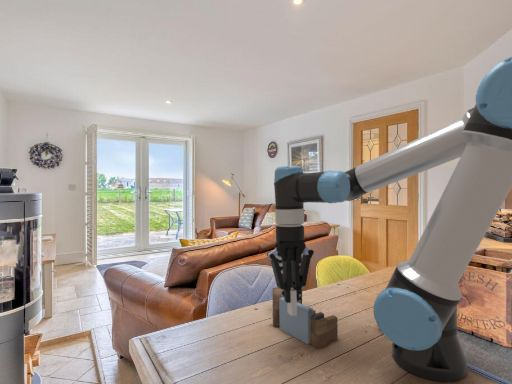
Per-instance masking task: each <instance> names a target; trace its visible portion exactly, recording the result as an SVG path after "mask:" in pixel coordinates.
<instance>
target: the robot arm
mask: <svg viewBox="0 0 512 384" xmlns="http://www.w3.org/2000/svg"><path fill="white" fill-rule="evenodd" d="M456 159H459V160H458V162H457V163H456V166H455V168H454V170H453V172H452V174H451V176H450V178H449V180H448V181H447V184H446V186H445V188H444V190H443V192H442V194H441V196H440V198H439V200H438V202H437V204H436V205H435V208H434V210H433V212H432V214H431V215H430V218H429V220H428V221H427V222H428V223H427V224H426V226H425V228H424V230H423V232H422V234H421V236H420V238H419V239H418V242H417V244H416V245H415V248H414V250H413V252H412V254H411V256H410V258H409V259H407V260H402V261H400V262H398V263H397V265H396V267H395V269H394V271H393V273H392V274H391V277H390V279H389V281H388V283H387V285H386V287H385V288H384V289H383V290H382V291H380V293H378V294H377V296H376V298H375V300H374V304H373V309H372V310H373V312H372V313H373V318H374V320H375V322H376V324H377V327H378V329H379V330H380V331H381V333H382V334H383V335H384V337H386V339H388V340H389V341H390V342H392V346H391V351H392V352H391V355H392V358H393V360H394V361H395V363H396V364H397V365H398V366H400V367H401V368H403V369H404V370H405V371H407V372H410V374H413V375H415V376H417V377H421V378H423V379H426V380H427V379H428V380H432V381H436V382H446V383H447V382H456V381H460V380H462V379H464V378H465V377H466V376H467V373H468V372H467V370H468V367H467V366H468V365H467V359H466V356H465V353H464V350H463V348H462V344H461V342H460V339H459V337H458V304H459V303H460V301H461V299H462V297H463V295H462V292H461V289H460V287H459V285H458V284H459V281H460V280H461V278H462V276H463V274H464V273H465V271H466V269H467V267H468V265H470V262H471V260H472V258H473V257H474V255H475V253H476V252H477V250H478V248H479V246H480V244H481V243H482V241H483V240H484V238H485V236H486V234H487V233H488V232H487V231H488V230H489V228H490V227H491V225H492V223H493V222H494V220H495V217H496V216H497V214H498V213H499V211H500V210H501V207H502V205H503V203H505V202H504V201H505V200H506V199H507V197H508V194H509V193H510V191H511V190H512V56H510V57H508V58H506V59H504V60H501V61H500V62H499V63H498V64H496V65H494V66H493V67H492V68H491V69H489V71H488V72H486V74H485V75H484V77H483V78H482V79H481V81H480V83H479V86H478V88H477V90H476V95H475V105H474V106H473V107H472V108H470V109H467V110H466V111H465V113H464V114H463V117H461V118H459V119H458V120H454V121H453V122H451V123H449V124H447V125H444V126H442V127H440V128H438V129H436V130H434V131H431V132H429V133H427V134H425V135H422V136H421V137H419V138H416V139H414V140H412V141H410V142H408V143H405V144H402V145H401V146H399V147H396V148H395V149H392V150H390V151H388V152H385V153H384V154H381V155H379V156H377V157H375V158H372V159H370V160H368V161H366V162H364V163H361V164H359V165H357V166H356V167H354V168H351V169H349V170H347V171H344V170H343V171H342V170H326V171H318V172H317V171H316V172H303V167H302V166H299V165H289V166H278V167H276V168H275V170H274V179H273V180H274V182H273V185H274V186H273V187H274V199H275V200H274V201H275V205H274V212H275V213H274V214H275V215H274V216H275V224H276V227H275V240H276V241H275V244H274V249H273V250H271V251H270V252H269V251H268V252H267V253H266V256H267V258H268V260H269V261H270V263H271V268H272V272H273V276H274V279H275V283H276V286H278V287H279V288H280V289H282V290H284V300H285V302H287V311H288V313H289V314H290V315H291V316H297V301H299V291H300V290H301V287H302V288H303V287H305V286H307V281H308V276H309V269H310V263H311V259H312V257H313V255H314V254H315V252H314V250H313V249H312V248H308V247H307V244H306V243H305V226H304V225H303V224H305V212H304V207H305V205H304V203H323V204H324V203H327V204H337V203H343V202H350V201H351V202H352V201H354V200H357V199H360V198H361V197H362V196H363V195H366V194H369V193H371V192H373V191H376V190H378V189H381V188H383V187H386V186H389V185H392V184H394V183H396V182H400V181H402V180H405V179H407V178H409V177H412V176H415V175H417V174H420V173H423V172H425V171H428V170H431V169H434V168H435V167H438V166H441V165H443V164H446V163H449V162H451V161H454V160H456ZM277 253H278V254H279V256H280V257H281V258H282V264H283V278H282V274H281V270H280V266H279V262H278V260H277V258H278V255H277ZM301 255H302V261H301V267H300V270H299V264H300V256H301ZM291 272H292V287H293V288H291Z"/></svg>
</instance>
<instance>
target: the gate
mask: <svg viewBox="0 0 512 384" xmlns="http://www.w3.org/2000/svg"><path fill="white" fill-rule="evenodd" d="M316 313H317V312H316V310H314V309H313V307H311V306H308V305H306V304H303V303H302V304H301V303H298V302H297V316H291V315H290V314H289V313H288V311H287V302H285V300H284V297H282V298H279V318H280V328H279V330H280V331H283V332H284V333H286V334H288V335H289V336H291V337H294V338H296V339H297V340H298V341H300V342H303V343H305V344H306V345H310V344H311V328H310V317H312V315H314V314H316Z"/></svg>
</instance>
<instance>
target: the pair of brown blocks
mask: <svg viewBox="0 0 512 384" xmlns="http://www.w3.org/2000/svg"><path fill="white" fill-rule="evenodd" d="M279 298H282V289H280V288H277V287H273V288H272V327H273V328H276V329H280V318H279ZM297 302H298V303H301V300H299V301H297ZM338 325H339V324H338V317H337V316H336V315H334V314H332V315H329V316H326V317H325V313H323V312H321V311H319V312H316V314H314V315H312V317H310V328H311V343H310V344H311V345H312V346H314V347H316V348H317V349H321V348H323V347H327V346H328V344H329V343H331V342H334V341H337V340H338V339H339V338H338V337H339V335H338V327H339V326H338Z"/></svg>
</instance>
